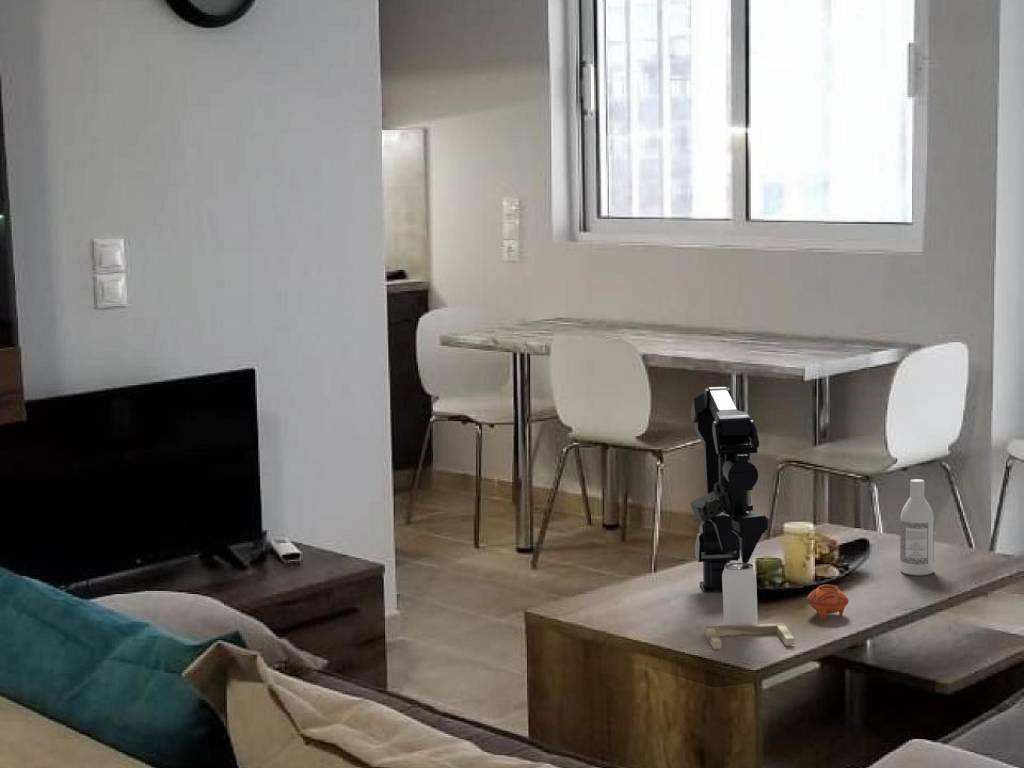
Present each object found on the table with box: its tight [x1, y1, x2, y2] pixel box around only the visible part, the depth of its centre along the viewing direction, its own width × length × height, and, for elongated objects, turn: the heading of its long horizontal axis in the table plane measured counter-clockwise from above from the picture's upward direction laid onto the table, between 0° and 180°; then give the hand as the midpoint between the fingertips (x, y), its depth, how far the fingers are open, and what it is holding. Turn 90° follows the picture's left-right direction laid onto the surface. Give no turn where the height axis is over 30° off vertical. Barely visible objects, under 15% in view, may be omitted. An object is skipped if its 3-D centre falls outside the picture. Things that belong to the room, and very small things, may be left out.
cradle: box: [704, 622, 795, 650], centre depth 305 cm, size 10×15×2 cm, turn 92°
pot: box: [806, 584, 850, 621], centre depth 319 cm, size 8×8×7 cm
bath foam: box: [899, 478, 935, 576], centre depth 347 cm, size 7×7×20 cm
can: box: [722, 561, 759, 626], centre depth 313 cm, size 6×6×12 cm
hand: (734, 556), depth 319 cm, fingers open, 9 cm apart
